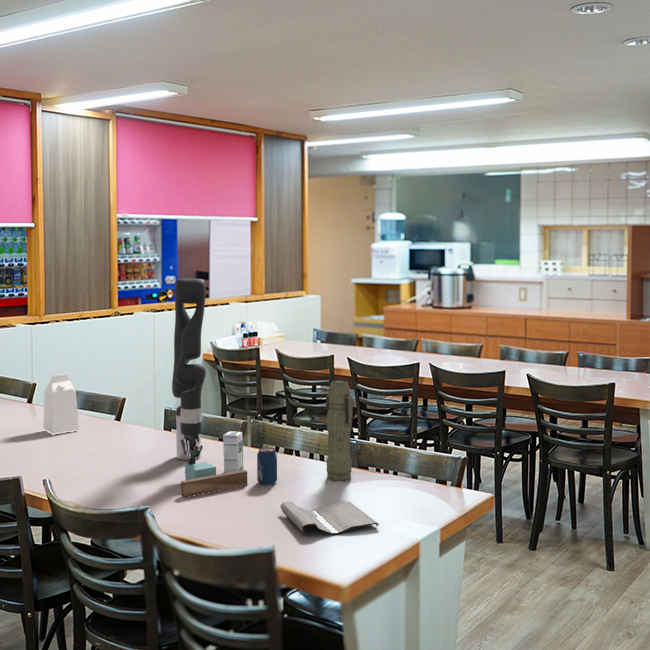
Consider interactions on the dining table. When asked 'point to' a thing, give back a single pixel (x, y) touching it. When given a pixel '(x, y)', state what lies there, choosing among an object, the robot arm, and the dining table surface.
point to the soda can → (267, 466)
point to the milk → (60, 405)
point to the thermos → (339, 431)
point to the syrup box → (233, 451)
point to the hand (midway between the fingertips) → (191, 468)
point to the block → (199, 470)
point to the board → (213, 483)
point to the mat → (328, 516)
